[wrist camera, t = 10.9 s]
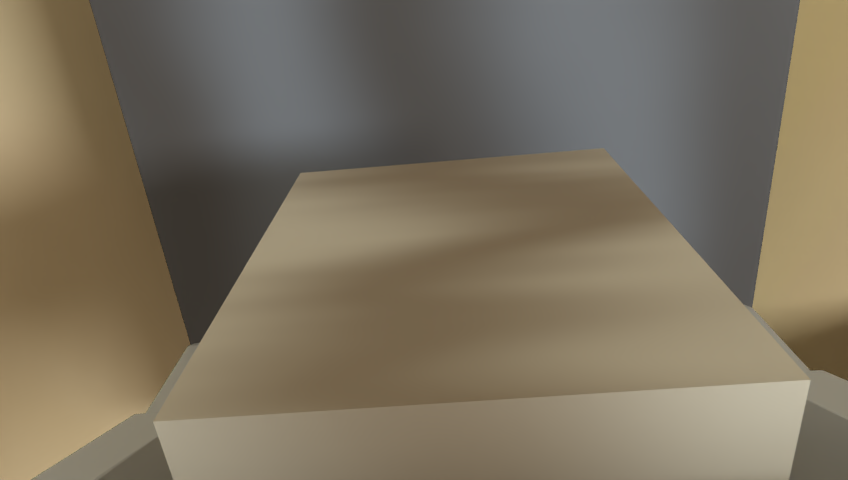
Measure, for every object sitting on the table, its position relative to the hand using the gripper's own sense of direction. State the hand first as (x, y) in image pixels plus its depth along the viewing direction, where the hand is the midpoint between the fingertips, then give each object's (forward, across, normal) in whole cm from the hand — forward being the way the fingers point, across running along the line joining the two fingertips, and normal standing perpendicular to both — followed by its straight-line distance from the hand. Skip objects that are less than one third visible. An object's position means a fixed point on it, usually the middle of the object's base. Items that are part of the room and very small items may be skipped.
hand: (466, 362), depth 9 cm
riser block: (+9, 0, 0) cm, 9 cm away
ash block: (+2, 0, 0) cm, 2 cm away
